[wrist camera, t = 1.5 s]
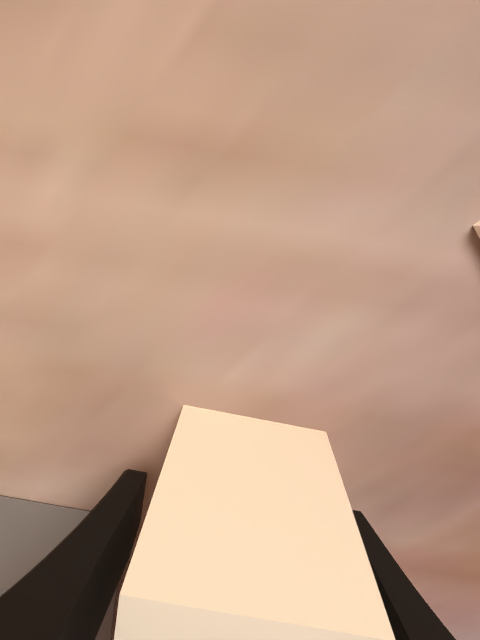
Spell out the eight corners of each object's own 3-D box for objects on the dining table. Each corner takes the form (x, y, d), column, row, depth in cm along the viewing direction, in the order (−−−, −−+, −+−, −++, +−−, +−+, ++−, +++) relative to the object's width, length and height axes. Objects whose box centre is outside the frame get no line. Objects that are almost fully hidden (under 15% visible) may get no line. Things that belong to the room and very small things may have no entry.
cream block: (290, 534, 13) (319, 779, 8) (165, 512, 13) (100, 745, 7) (325, 431, 12) (396, 641, 6) (184, 403, 12) (119, 594, 6)
